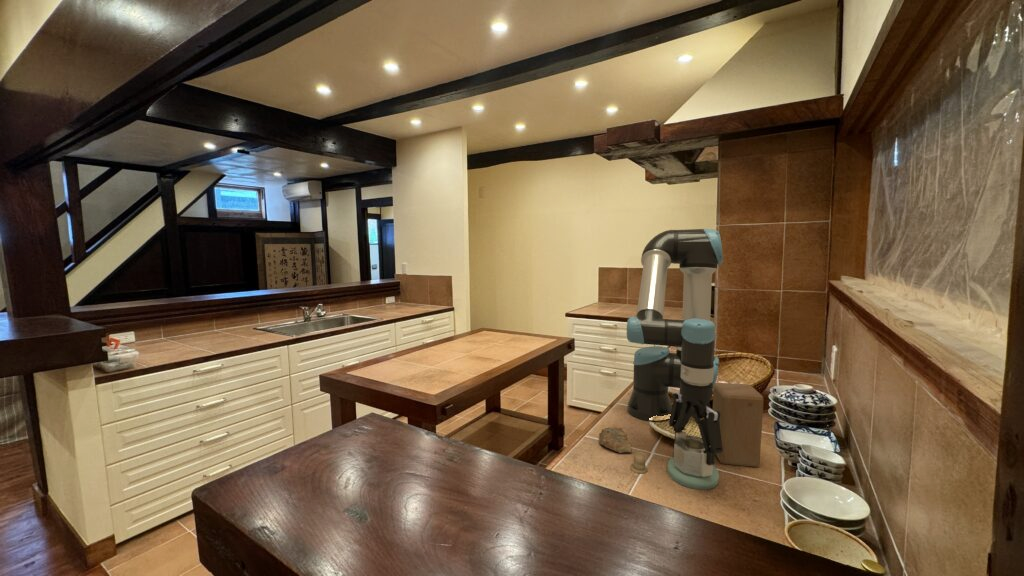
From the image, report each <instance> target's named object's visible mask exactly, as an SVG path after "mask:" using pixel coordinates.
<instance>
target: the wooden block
mask: <svg viewBox="0 0 1024 576" xmlns="http://www.w3.org/2000/svg"><path fill="white" fill-rule="evenodd" d="M712 410H713V411H715V412H716V411H719V412H720V420H719V423H720V432H721V440H722V448H723V452H722V453H717V454H715V456H716V457H717V459H718V460H719V462H720V463H721V464H724V465H734V466H746V467H756V468H757V467H759V466H760V461H761V448H762V447H761V445H762V431H763V430H762V429H763V417H764V415H763V413H764V396H763V395H762V394H761V393H760V392H758V391H757V390H756V389H755V388H754V387H753V386H752V385H750V384H749V383H729V382H728V383H727V382H716V383H715V384H714V388H713V392H712Z"/></svg>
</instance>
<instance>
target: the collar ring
mask: <svg viewBox="0 0 1024 576" xmlns="http://www.w3.org/2000/svg"><path fill="white" fill-rule="evenodd" d="M674 439H675V438H674ZM673 445H674V446H673V457H674V466H675V467H677V468H678V469H679V470H681V471H682V472H683V473H686V474H690V475H695V476H699V477H700V476H701V468H702V450H705V448H704V445H703V441H702V437H701V436H700V437H698V436H694V435H693V436H692V435H691V434H689V435H687V434H686V435H685V436H680V437H676V439H675V440H674V444H673ZM709 447H710V446H709Z"/></svg>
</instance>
